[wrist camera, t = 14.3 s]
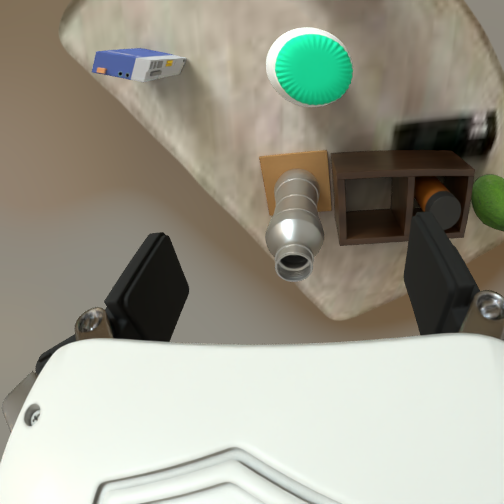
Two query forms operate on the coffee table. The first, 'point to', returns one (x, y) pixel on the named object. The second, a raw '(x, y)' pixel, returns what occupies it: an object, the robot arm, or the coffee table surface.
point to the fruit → (489, 200)
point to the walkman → (137, 64)
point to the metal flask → (295, 225)
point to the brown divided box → (396, 192)
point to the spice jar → (437, 200)
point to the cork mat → (303, 160)
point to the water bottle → (309, 67)
